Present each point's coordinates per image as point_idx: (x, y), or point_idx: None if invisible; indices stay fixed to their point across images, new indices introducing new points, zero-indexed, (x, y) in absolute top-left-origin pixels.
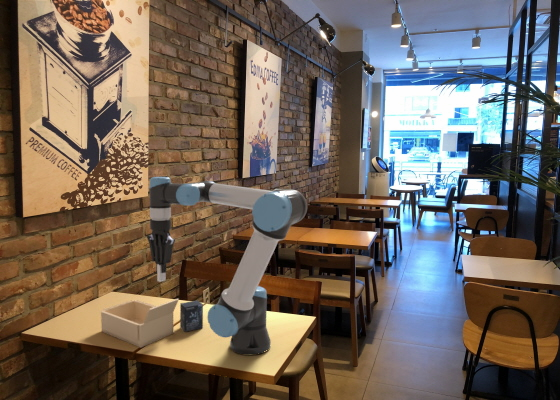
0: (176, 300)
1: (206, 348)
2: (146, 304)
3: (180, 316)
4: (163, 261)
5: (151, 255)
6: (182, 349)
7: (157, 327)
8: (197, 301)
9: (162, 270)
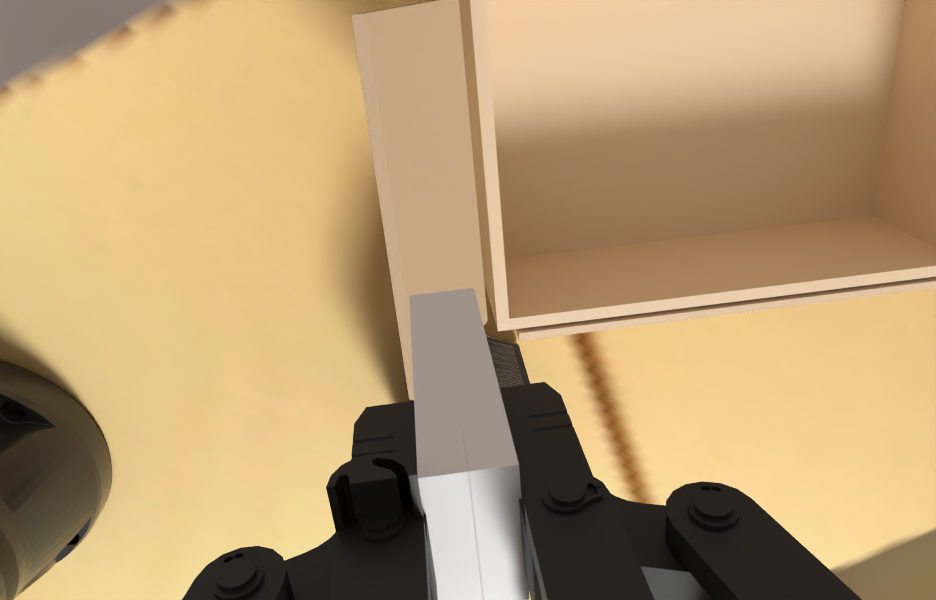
0: (408, 373)
1: (130, 274)
2: (815, 285)
3: (525, 381)
4: (273, 589)
5: (844, 593)
6: (220, 161)
7: (476, 151)
8: None
9: (380, 434)
